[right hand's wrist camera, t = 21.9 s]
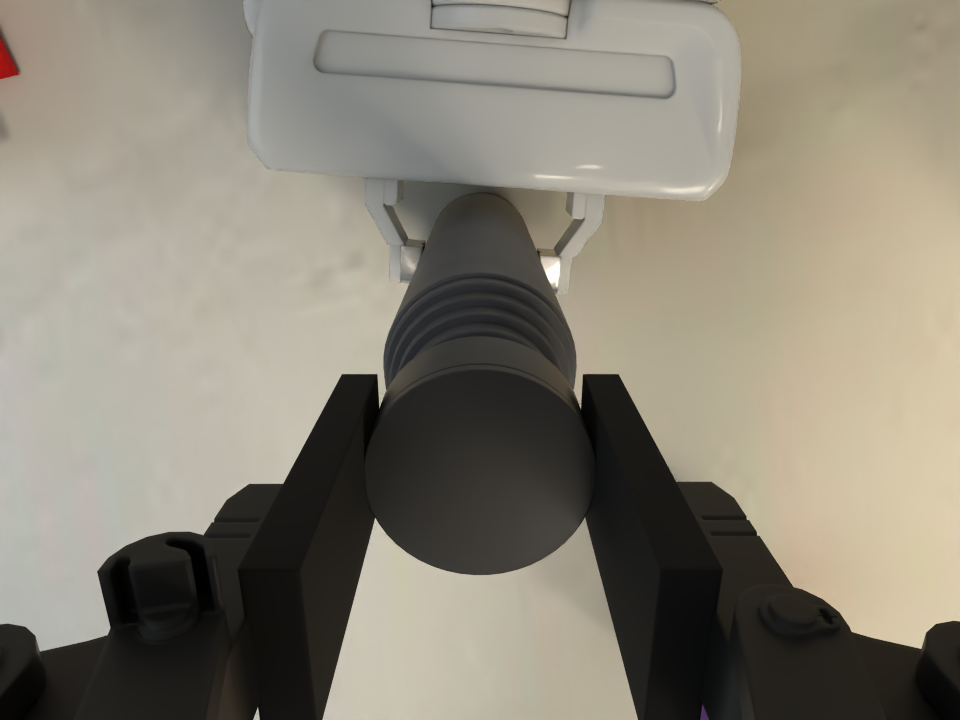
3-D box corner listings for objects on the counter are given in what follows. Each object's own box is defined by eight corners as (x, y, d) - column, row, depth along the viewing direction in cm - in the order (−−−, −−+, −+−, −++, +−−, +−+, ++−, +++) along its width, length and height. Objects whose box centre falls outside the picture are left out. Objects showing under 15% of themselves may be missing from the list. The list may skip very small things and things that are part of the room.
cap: (614, 472, 15) (633, 522, 13) (438, 548, 16) (432, 606, 14) (528, 299, 14) (535, 328, 12) (339, 391, 14) (318, 433, 12)
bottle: (413, 224, 36) (292, 420, 13) (497, 173, 36) (532, 284, 12) (463, 305, 38) (436, 611, 15) (545, 258, 37) (658, 504, 14)
